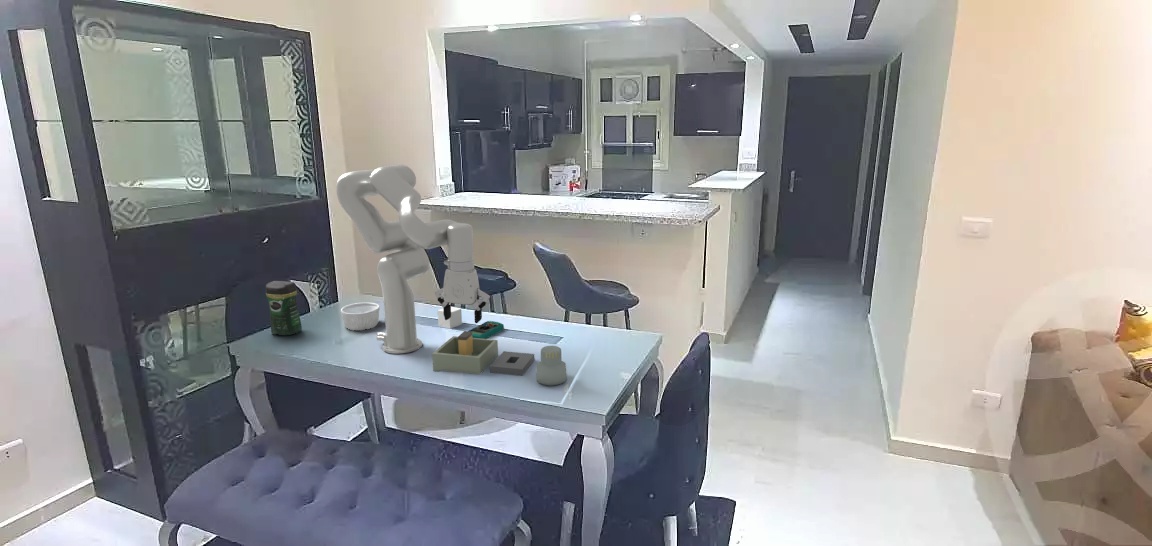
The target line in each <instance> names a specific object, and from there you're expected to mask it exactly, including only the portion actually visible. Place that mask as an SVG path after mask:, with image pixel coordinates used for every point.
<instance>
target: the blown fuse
mask: <svg viewBox="0 0 1152 546" xmlns="http://www.w3.org/2000/svg"><path fill="white" fill-rule="evenodd" d="M457 337H458V346H459V355H469V356H472V352H473V338H472V332H470V331H469V330H463V332H462V333H461V334H459V335H458V336H457Z"/></svg>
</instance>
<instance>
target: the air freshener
mask: <svg viewBox="0 0 1152 546" xmlns="http://www.w3.org/2000/svg"><path fill="white" fill-rule="evenodd" d="M567 375H568V374H567V365H566V362H565V361H563V359H562V348H561V347H559V346H557V345H545V346H543V347H542V348H541V349H540V361H538V362H537V363H536V382H537V383H539V384H541V385H543V386H548V387H549V386H550V387H551V386H558V385H561V384H564V383H565V382H566V381H567V377H568V376H567Z"/></svg>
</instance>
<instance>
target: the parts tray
mask: <svg viewBox="0 0 1152 546" xmlns="http://www.w3.org/2000/svg"><path fill="white" fill-rule="evenodd" d="M498 341H499V340H498V339H491V338H490V339H489V338H487V339H480V338H473V352H472V356H469V355H459V346H458V336H455V335H453V336H452V337H450V338H449V339H448V340H447V341H446V342H444V343H443V344H442V345H440V346H439V347H438V348H437V349H436V350H434V351H433V352H432V353H431V356H432V357H431V358H432V371H435V372H440V371H445V372H446V371H447V372H456V373H457V372H458V373H466V374H468V373H469V374H477V375H478V374H479V375H481V374H482V373H483V371H484V370H485V369H487V367H489V366H490V365H491V364H492V363H493V362H494V361H495V360H496V359H497V358H498V357H499V346H498V345H499V343H498Z"/></svg>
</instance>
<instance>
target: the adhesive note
mask: <svg viewBox="0 0 1152 546" xmlns="http://www.w3.org/2000/svg"><path fill="white" fill-rule="evenodd" d="M462 318H463V317H462V308H460V307H455V306H451V317H450V318H449V319H448V320H445V316H444V313H443V307H442V308H439V309H437V324H438V326H437V327H442V328H446V329H453V328H455V327H458V326H462V325H463V319H462Z"/></svg>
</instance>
